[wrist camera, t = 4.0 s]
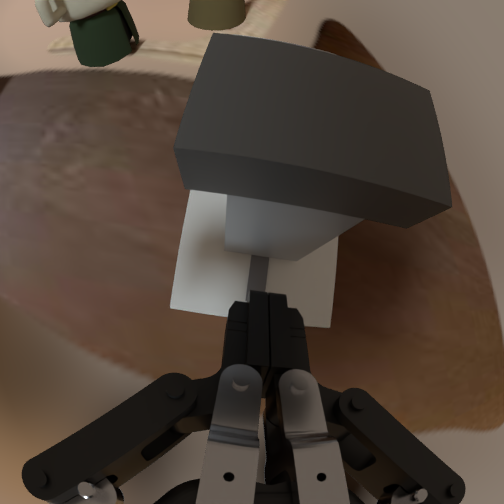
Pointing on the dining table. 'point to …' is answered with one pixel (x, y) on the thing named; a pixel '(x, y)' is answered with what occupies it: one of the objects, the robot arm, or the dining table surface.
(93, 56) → the character mug
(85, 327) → the dining table surface
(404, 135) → the fader knob
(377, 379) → the dining table surface
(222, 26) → the cork
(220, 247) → the fader console
